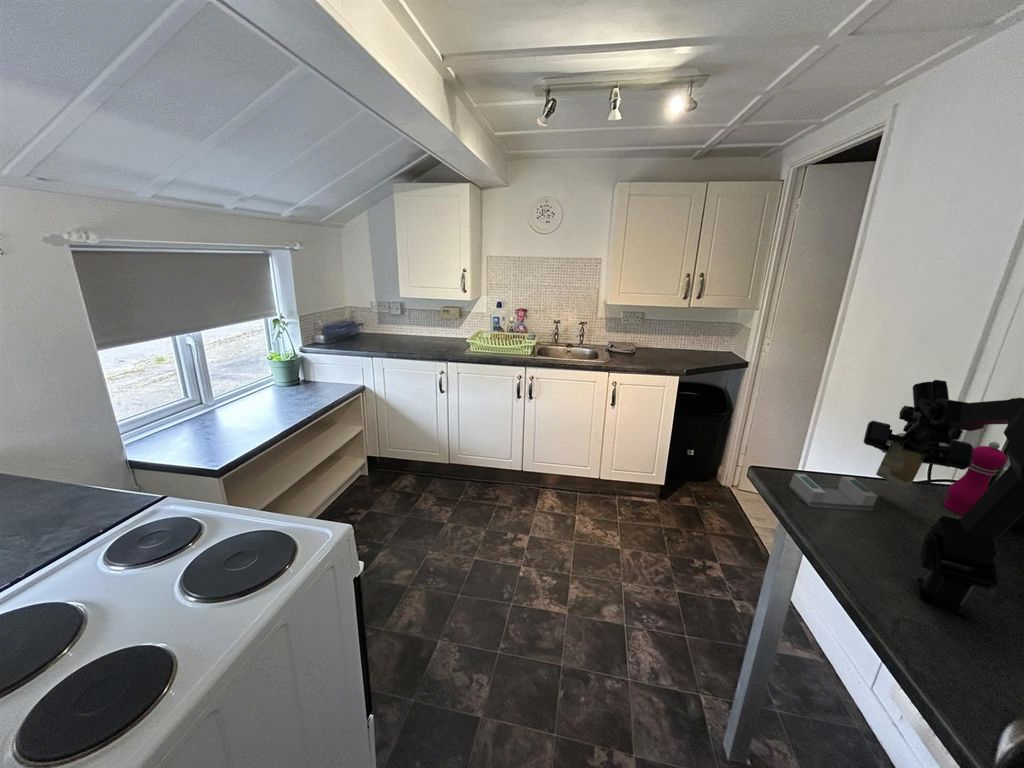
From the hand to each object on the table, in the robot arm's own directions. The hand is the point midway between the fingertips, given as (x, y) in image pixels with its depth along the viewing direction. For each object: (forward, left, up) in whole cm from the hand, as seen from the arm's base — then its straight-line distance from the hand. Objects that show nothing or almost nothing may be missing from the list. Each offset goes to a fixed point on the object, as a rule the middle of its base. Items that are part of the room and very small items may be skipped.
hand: (903, 455), depth 106 cm
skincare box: (-1, 0, -7) cm, 7 cm away
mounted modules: (-10, +12, -13) cm, 21 cm away
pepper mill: (+8, -16, -13) cm, 22 cm away
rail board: (-10, +12, -13) cm, 21 cm away
